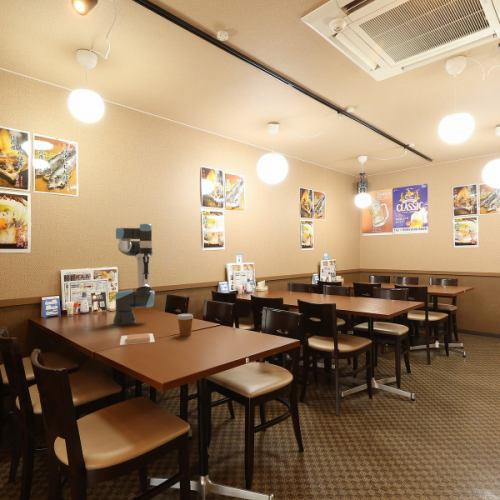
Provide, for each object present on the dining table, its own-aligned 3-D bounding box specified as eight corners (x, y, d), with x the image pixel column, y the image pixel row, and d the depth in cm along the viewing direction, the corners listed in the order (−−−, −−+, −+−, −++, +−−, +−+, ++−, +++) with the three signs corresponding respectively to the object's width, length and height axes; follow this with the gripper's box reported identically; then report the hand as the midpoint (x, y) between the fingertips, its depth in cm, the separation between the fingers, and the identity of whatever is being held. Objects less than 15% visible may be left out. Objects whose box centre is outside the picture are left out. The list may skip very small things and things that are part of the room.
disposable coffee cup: (190, 336, 205) (189, 316, 205) (174, 336, 207) (174, 316, 207) (195, 333, 214) (195, 313, 214) (181, 332, 216) (180, 313, 216)
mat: (121, 336, 207) (121, 335, 207) (152, 334, 212) (152, 333, 212) (119, 346, 186) (119, 344, 186) (154, 342, 191) (154, 341, 191)
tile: (127, 334, 200) (126, 339, 189) (149, 333, 204) (149, 337, 192) (127, 338, 200) (126, 343, 188) (149, 336, 204) (150, 341, 192)
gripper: (139, 247, 232) (139, 283, 232) (139, 247, 220) (140, 285, 220) (151, 247, 235) (151, 283, 234) (152, 247, 222) (152, 284, 222)
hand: (146, 284), depth 227 cm, fingers closed
